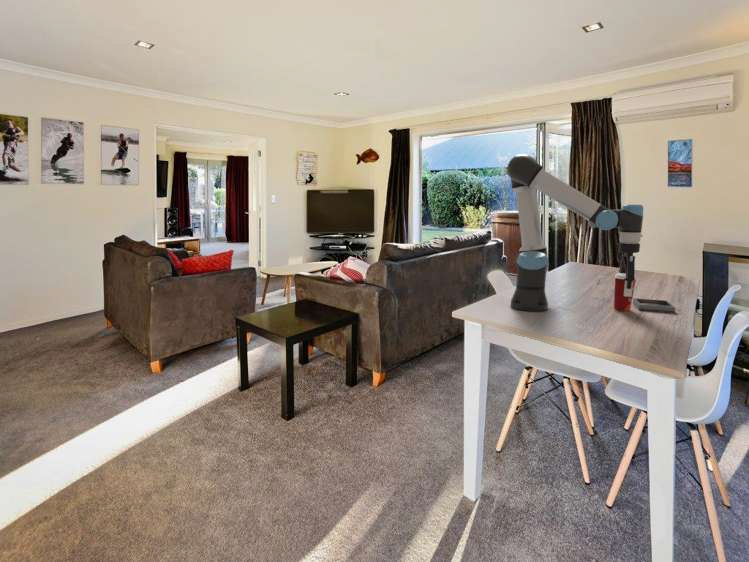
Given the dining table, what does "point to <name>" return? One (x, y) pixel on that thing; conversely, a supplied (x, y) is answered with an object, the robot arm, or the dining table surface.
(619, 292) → the coffee cup
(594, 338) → the dining table surface
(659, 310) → the grey square tray
